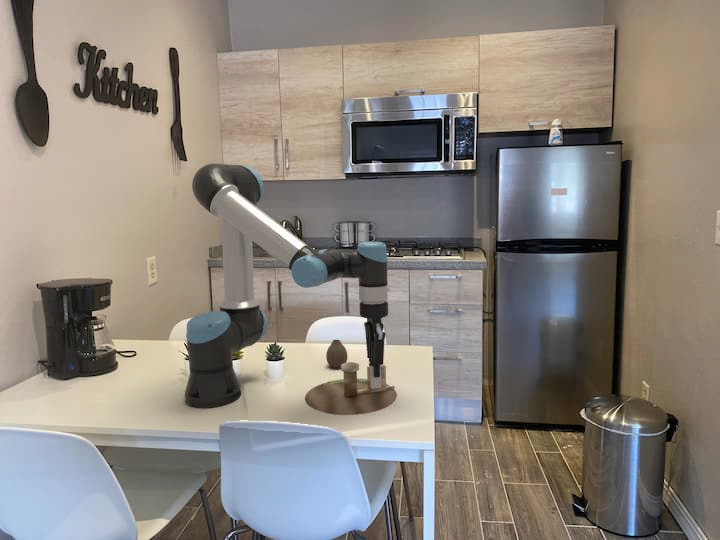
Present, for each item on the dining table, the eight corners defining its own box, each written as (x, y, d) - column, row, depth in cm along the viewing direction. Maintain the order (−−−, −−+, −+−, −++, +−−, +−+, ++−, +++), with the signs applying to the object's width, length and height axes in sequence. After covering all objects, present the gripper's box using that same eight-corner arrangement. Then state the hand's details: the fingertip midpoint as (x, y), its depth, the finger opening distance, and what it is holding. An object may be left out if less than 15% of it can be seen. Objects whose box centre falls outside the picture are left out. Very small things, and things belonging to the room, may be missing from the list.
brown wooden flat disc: (314, 425, 121) (314, 420, 121) (298, 389, 145) (297, 384, 145) (411, 410, 128) (410, 405, 128) (379, 378, 152) (379, 374, 152)
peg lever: (344, 399, 134) (343, 369, 132) (340, 392, 138) (339, 363, 137) (397, 391, 138) (396, 362, 137) (391, 385, 142) (390, 357, 141)
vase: (347, 369, 161) (346, 343, 160) (325, 370, 161) (324, 343, 160) (348, 362, 168) (347, 337, 166) (327, 363, 168) (326, 337, 167)
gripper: (394, 305, 126) (396, 394, 129) (380, 295, 139) (382, 377, 142) (365, 307, 124) (368, 398, 128) (354, 297, 137) (356, 380, 140)
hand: (375, 387), depth 135 cm, fingers closed
